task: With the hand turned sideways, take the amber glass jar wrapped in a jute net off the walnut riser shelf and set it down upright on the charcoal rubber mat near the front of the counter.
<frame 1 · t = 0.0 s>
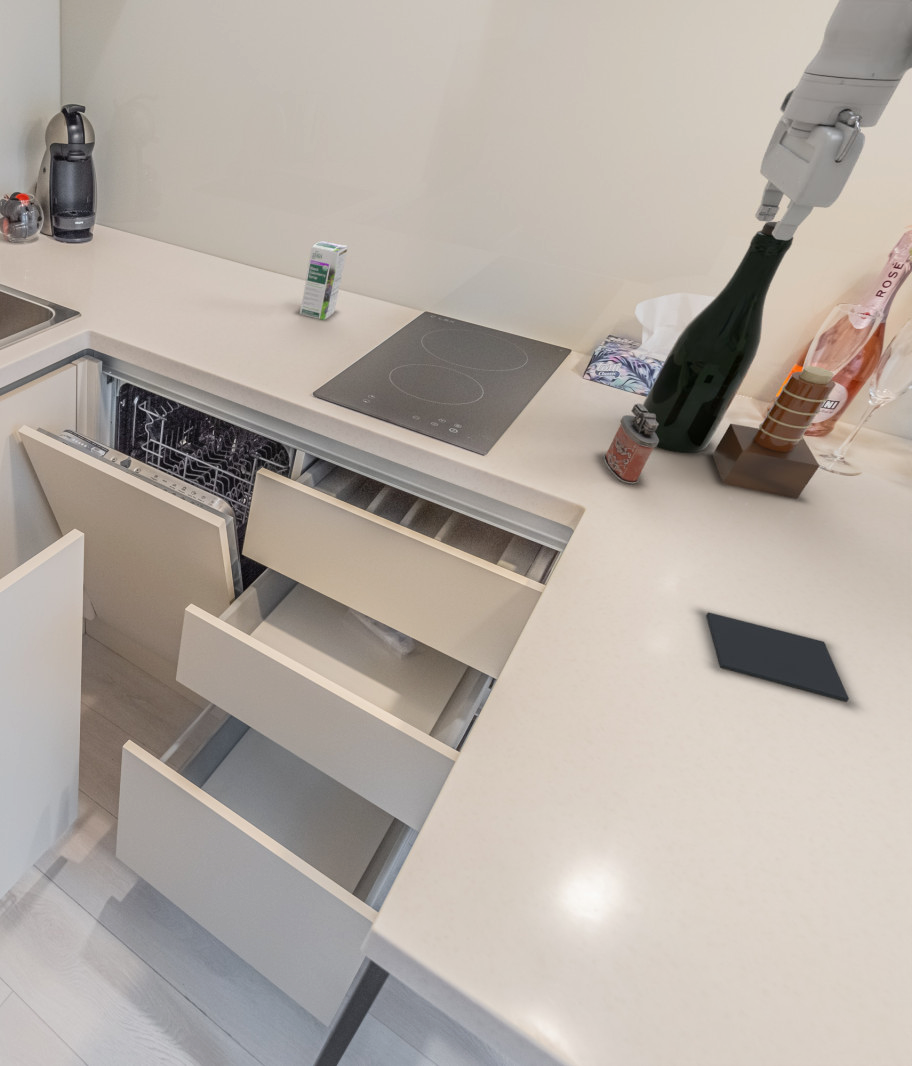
hand: (771, 228, 96), 34 cm above the countertop, tool pointing down, fingers open, 8 cm apart
rubber mat: (769, 659, 82), on the countertop
dark green wine bottle: (666, 440, 121), on the countertop
syrup box: (316, 316, 161), on the countertop
lighter: (617, 474, 112), on the countertop
riser shelf: (751, 478, 112), on the countertop
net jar: (773, 443, 108), point 6 cm above the countertop, touching riser shelf
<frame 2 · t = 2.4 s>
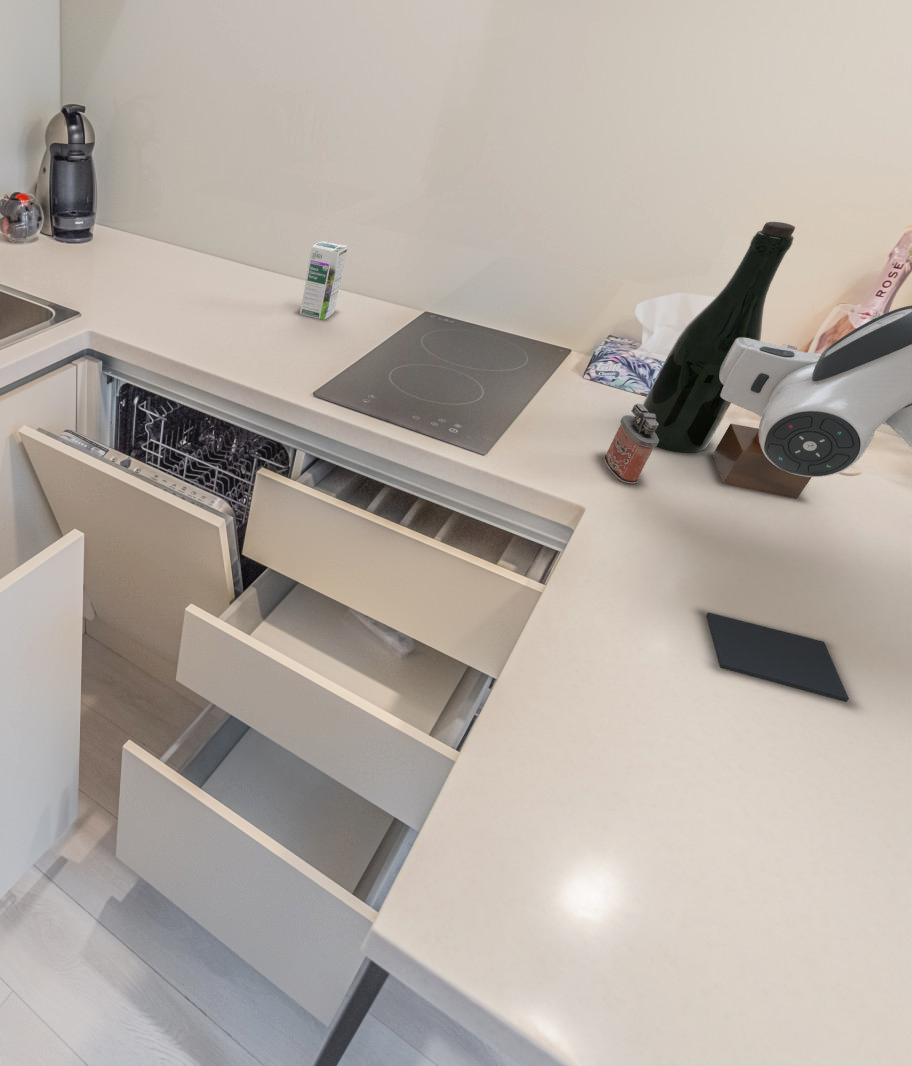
hand: (833, 363, 91), 22 cm above the countertop, tool horizontal, fingers open, 8 cm apart
nothing on the countertop moved.
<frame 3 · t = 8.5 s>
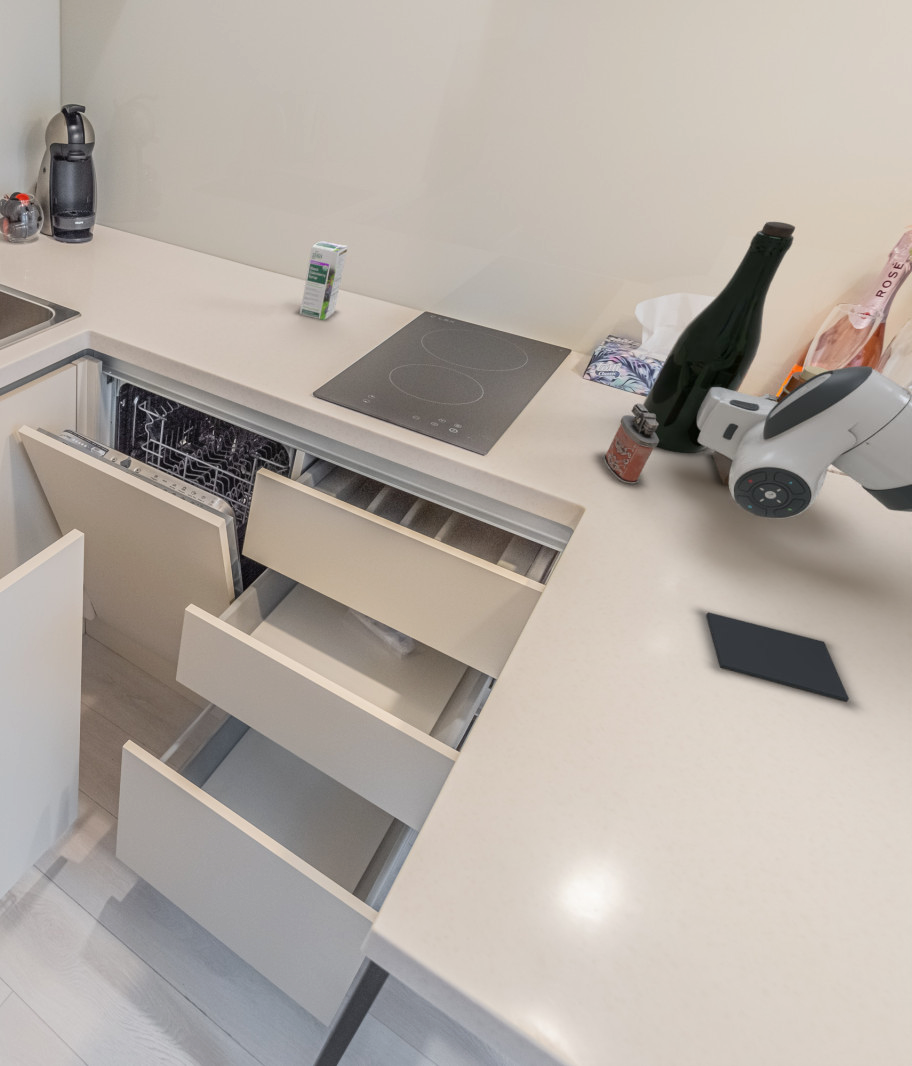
hand: (795, 406, 105), 12 cm above the countertop, tool horizontal, fingers closed on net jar, 5 cm apart
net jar: (773, 443, 108), point 6 cm above the countertop, touching gripper, riser shelf
everything else where it was.
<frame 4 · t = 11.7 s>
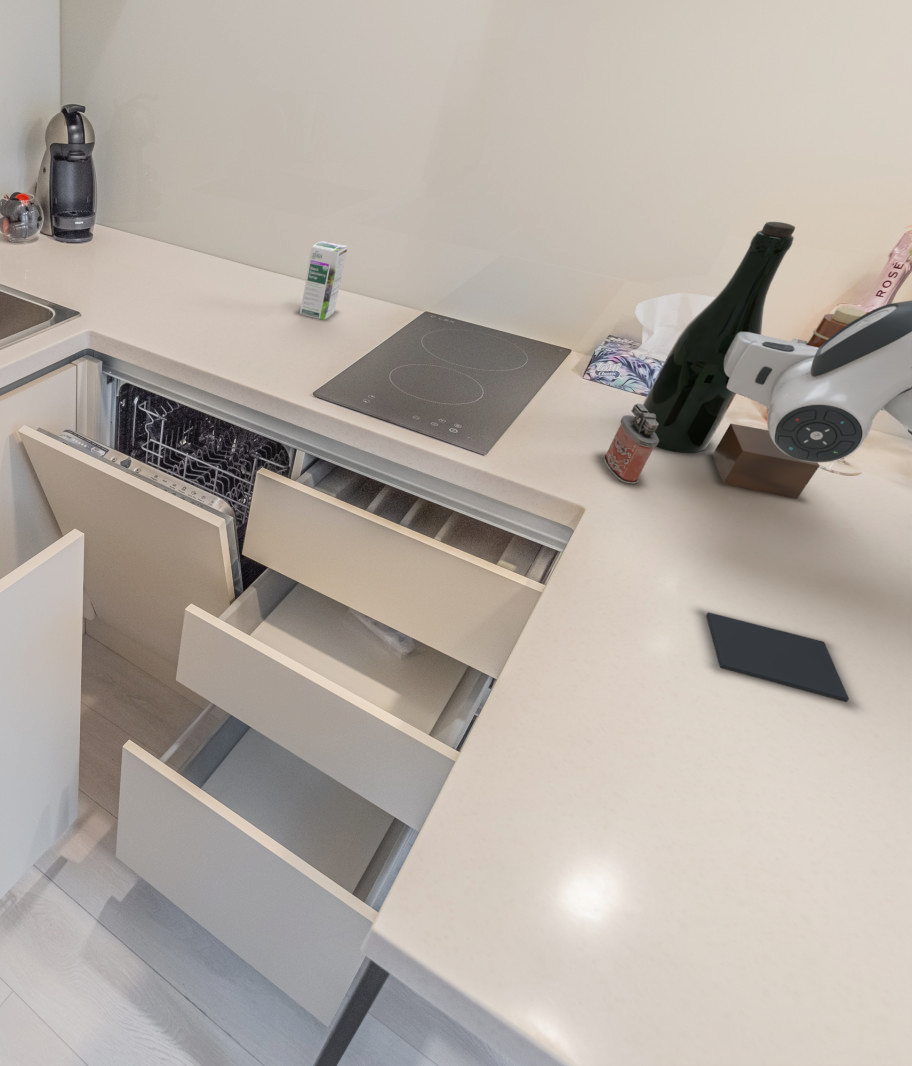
hand: (826, 351, 100), 20 cm above the countertop, tool horizontal, fingers closed on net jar, 5 cm apart
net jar: (802, 392, 102), point 14 cm above the countertop, touching gripper
everything else where it was.
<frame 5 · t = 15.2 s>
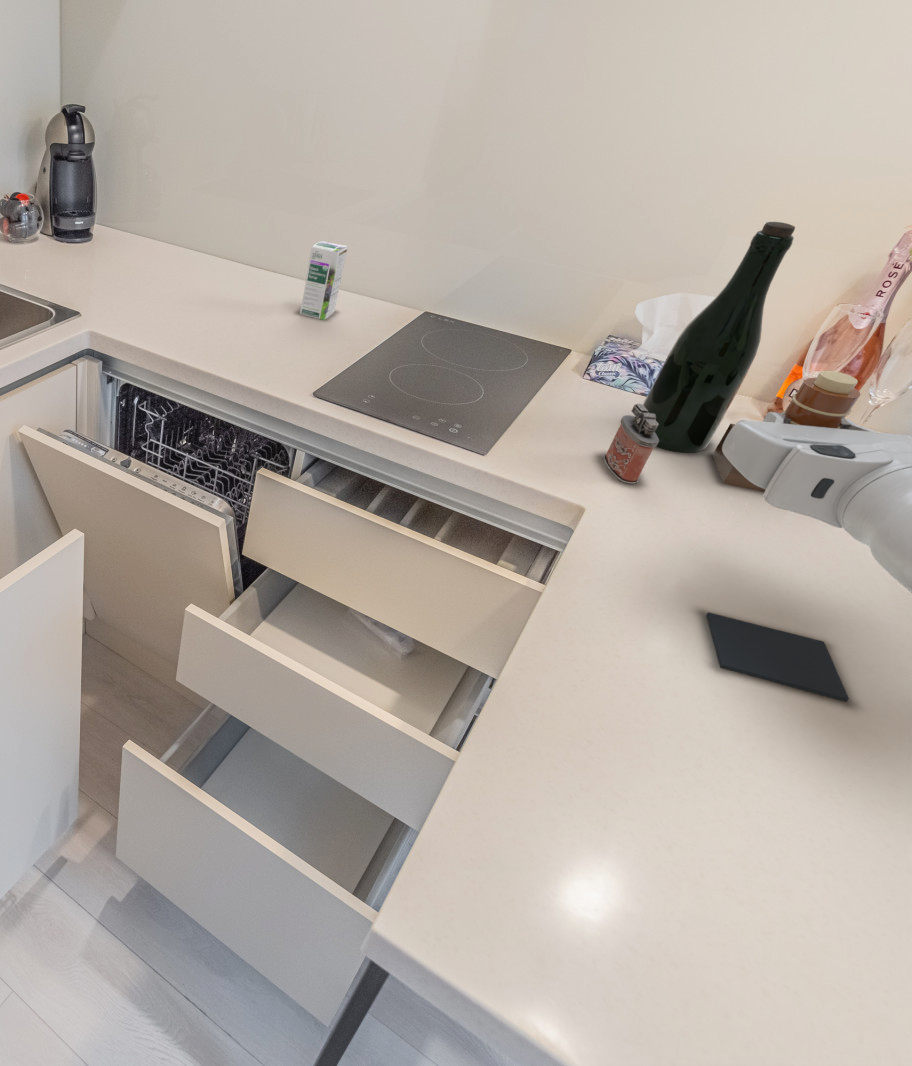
hand: (802, 420, 84), 20 cm above the countertop, tool horizontal, fingers closed on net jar, 5 cm apart
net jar: (779, 467, 86), point 15 cm above the countertop, touching gripper
everything else where it was.
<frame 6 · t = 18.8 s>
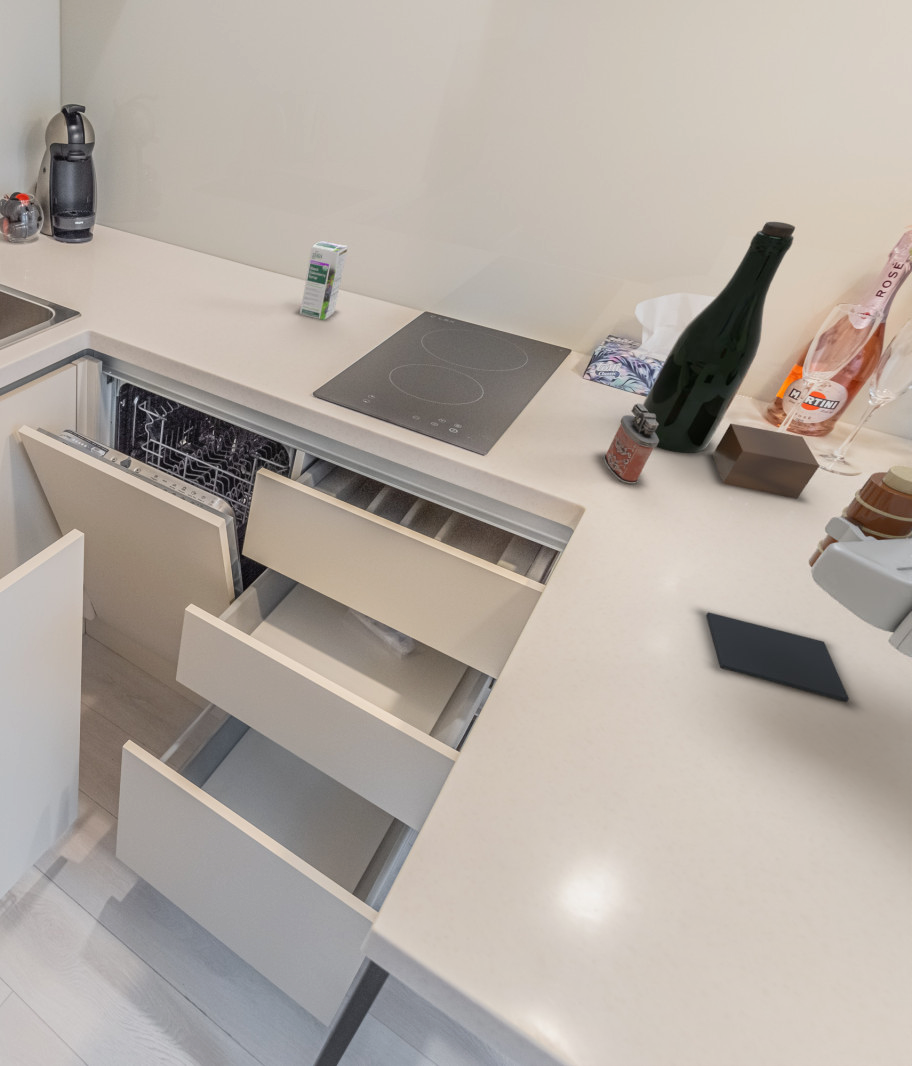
hand: (864, 520, 72), 18 cm above the countertop, tool horizontal, fingers closed on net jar, 5 cm apart
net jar: (838, 571, 75), point 12 cm above the countertop, touching gripper
everything else where it was.
when the fingers open (7 cm above the countertop, at t = 22.3 s): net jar stays where it is, resting on rubber mat.
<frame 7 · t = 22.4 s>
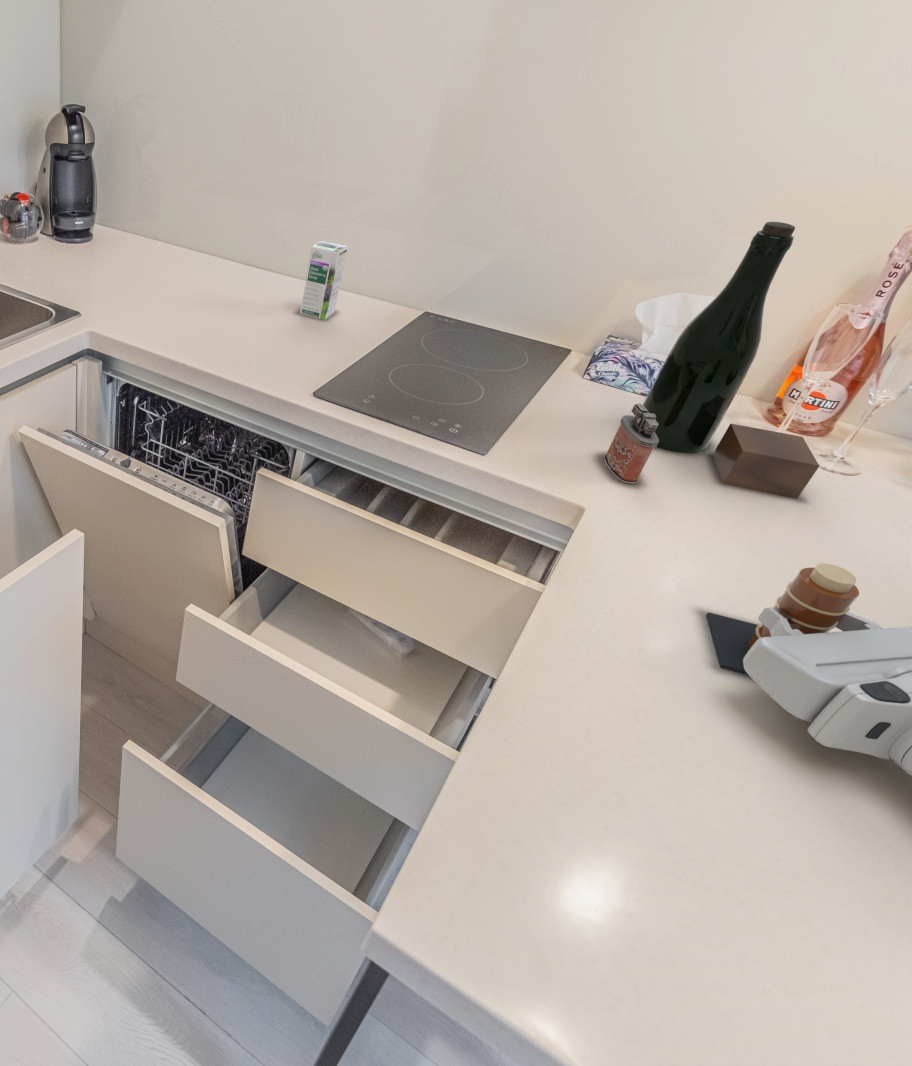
hand: (795, 610, 79), 6 cm above the countertop, tool horizontal, fingers open, 5 cm apart
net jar: (774, 653, 81), point 1 cm above the countertop, touching rubber mat
everything else where it was.
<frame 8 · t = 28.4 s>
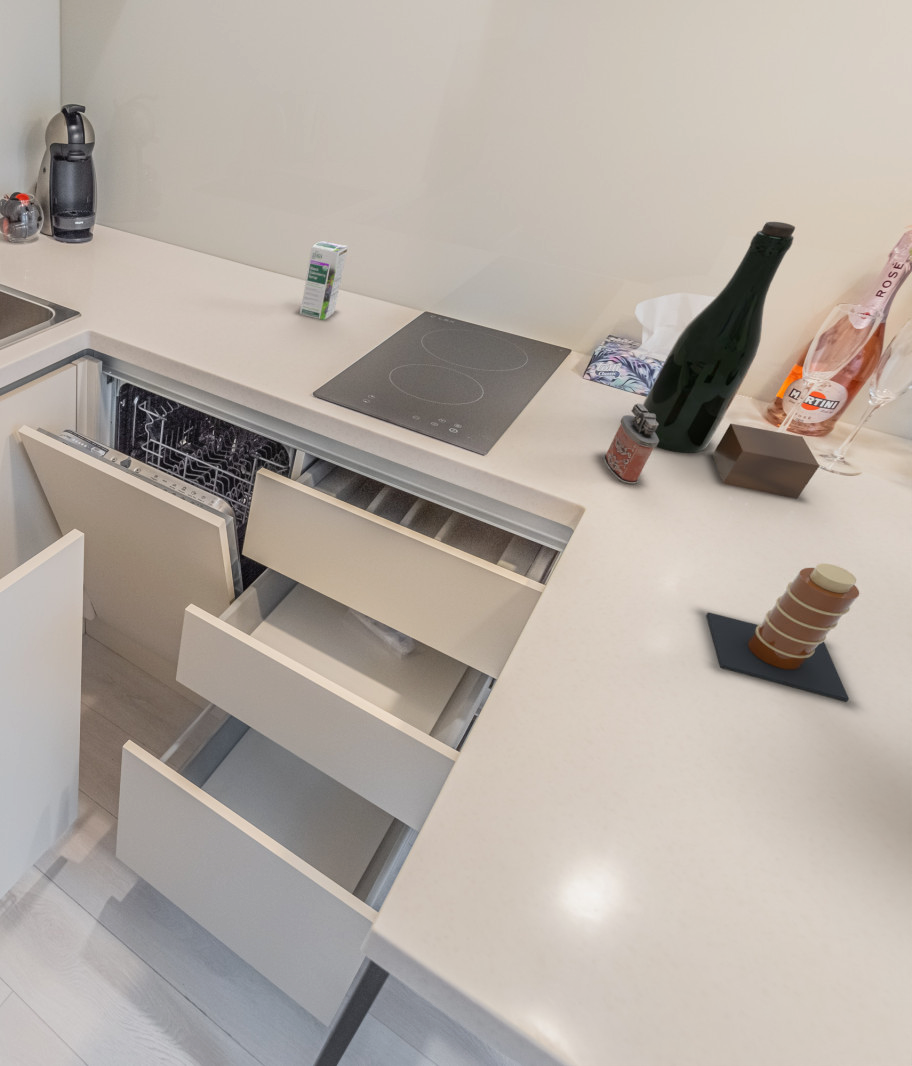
nothing on the countertop moved.
at the end: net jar inside the target area on the rubber mat (0.1 cm from its centre), point 1.0 cm above the rubber mat's base; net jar tilted 0°; the gripper is holding nothing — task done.
